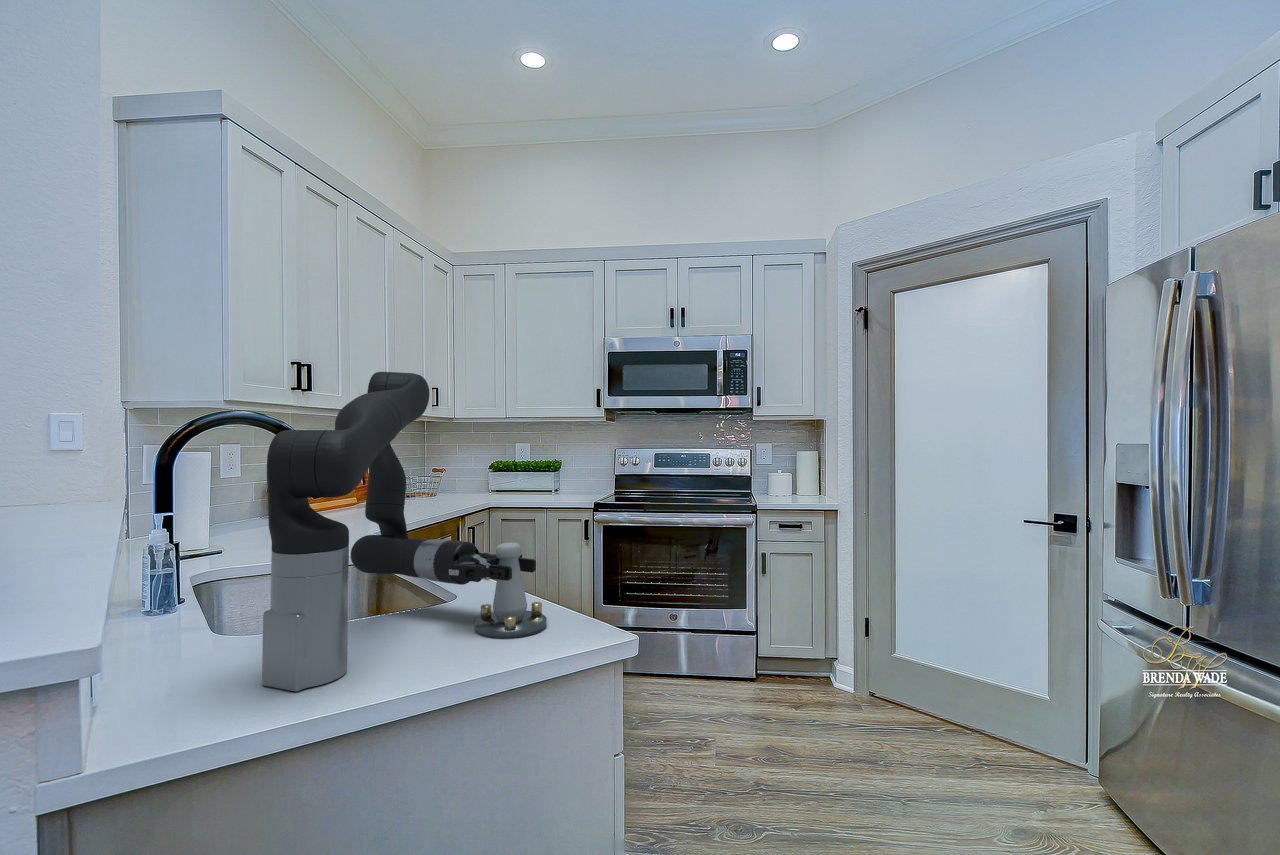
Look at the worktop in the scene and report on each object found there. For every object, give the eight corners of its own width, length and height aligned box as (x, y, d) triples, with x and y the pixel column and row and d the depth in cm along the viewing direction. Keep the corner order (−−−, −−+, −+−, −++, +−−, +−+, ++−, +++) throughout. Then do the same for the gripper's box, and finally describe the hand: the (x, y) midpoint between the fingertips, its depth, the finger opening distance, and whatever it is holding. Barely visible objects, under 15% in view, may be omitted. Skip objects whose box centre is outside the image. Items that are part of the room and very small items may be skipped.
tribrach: (523, 642, 95) (523, 622, 95) (459, 633, 99) (460, 614, 99) (558, 621, 107) (558, 602, 107) (500, 614, 111) (500, 596, 111)
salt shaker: (508, 627, 99) (505, 547, 99) (485, 621, 102) (483, 544, 103) (534, 617, 104) (532, 542, 104) (512, 612, 107) (510, 539, 107)
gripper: (417, 546, 103) (496, 554, 96) (473, 534, 116) (547, 541, 109) (416, 590, 103) (496, 602, 96) (473, 573, 116) (546, 582, 109)
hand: (522, 569), depth 102 cm, fingers open, 6 cm apart
